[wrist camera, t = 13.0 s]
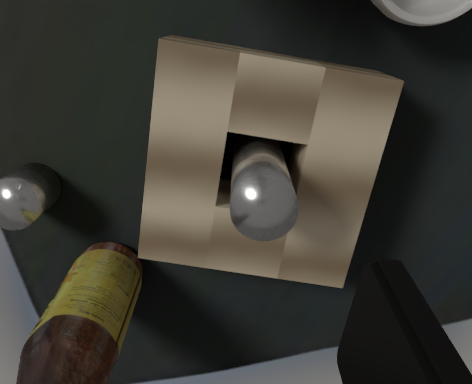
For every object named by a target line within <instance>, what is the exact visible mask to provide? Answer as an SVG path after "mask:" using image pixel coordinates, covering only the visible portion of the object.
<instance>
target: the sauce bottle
mask: <svg viewBox="0 0 472 384" xmlns="http://www.w3.org/2000/svg"><path fill="white" fill-rule="evenodd" d="M142 270H143V269H142V264H141V262H140V260H139V258H138V257H137V255H136V254H135V253H133V252H132V250H131V249H129V248H128V247H126V246H125V245H122V244H119V243H116V242H109V241H108V242H100V243H96V244H94V245H92V246H90V247H89V248H88V249H87V250H85V251H84V252H83V253H82V254H81V256H80V257H79V258H77V259H76V261H75V262H74V264H73V266H72V267H71V269H70V271H69V272H68V274H67V276H66V277H65V279H64V281H63V282H62V284H61V286H60V287H59V289H58V290H57V292H56V294H55V295H54V297H53V299H52V300H51V302H50V303H49V305H48V306H47V308H46V310H45V311H44V313H43V315H42V317H41V318H40V320H39V322H38V323H37V325H36V326H35V328H34V329H33V331H32V333H31V335H30V336H29V338H28V340H27V341H26V343H25V345H24V347H23V349H22V352H21V356H20V363H19V370H18V376H17V383H16V384H108V381H109V378H110V375H111V372H112V369H113V366H114V365H115V363H116V361H117V359H118V356H119V353H120V350H121V347H122V343H123V340H124V337H125V334H126V331H127V328H128V325H129V322H130V319H131V316H132V313H133V310H134V307H135V304H136V301H137V298H138V295H139V292H140V289H141V284H142V274H143V273H142Z"/></svg>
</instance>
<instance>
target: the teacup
mask: <svg viewBox="0 0 472 384" xmlns="http://www.w3.org/2000/svg"><path fill="white" fill-rule="evenodd" d="M370 1H371V2H372V3H373V4H374V5H375V6H376V7H377V8H378V9H379V10H380V11H381V12H382V13H383V14H384V15H385V16H387V17H388V18H390V19H392V20H394V21H396V22H399V23H403V24H407V25H412V26H432V25H438V24H442V23H445V22H448V21H450V20H453V19H455V18H457V17H459V16H460V15H462V14H464V13H465V12H467V11H468V10H470V9H471V8H472V0H370Z"/></svg>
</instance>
